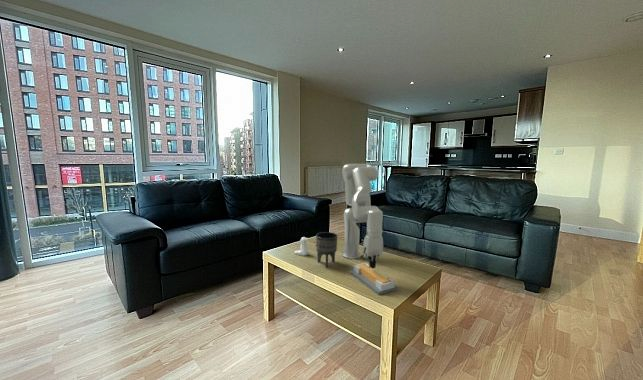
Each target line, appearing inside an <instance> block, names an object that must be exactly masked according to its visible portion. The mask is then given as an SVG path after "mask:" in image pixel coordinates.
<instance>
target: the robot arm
mask: <svg viewBox="0 0 643 380" xmlns="http://www.w3.org/2000/svg"><path fill="white" fill-rule="evenodd" d="M341 171H342V178H343V181H344V185H345V188H344V189H345V203H346V205H347V206H350V207H349V208H346V209H345V210H344V211H343V220H344V221H343V222H344V246H343V247H342V249H344V250H343V252H341V256H342V257H343V258H346V259H353V260H354V259H355V260H357V259H359V258H361V257H362V253H363V258H364V259H368V260H369V261H368V262H369V263H368V265H369V266H370V269H376V266H377V261H378V259H379V257H380V256H382V255H383V252H384V238H383V235H382V233H383V232H384V230H383V219H384V217H383V216H384V215H383V214H384V213H383V210H381V209H380V208H379V207H378V206H376V205H371V201H372V200H371V195H370V193H371V192H372V185H371V183H370V182H375V181H376V180H377V179H378V177H379V173H378V170H377V168H376V167H375V166H373V165H371V164H370V163H346V164H344V165H343V166H342V170H341ZM357 223H366V235H364V239H363V243H362V253H361V252H360V228H359V226H358V225H357Z"/></svg>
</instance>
